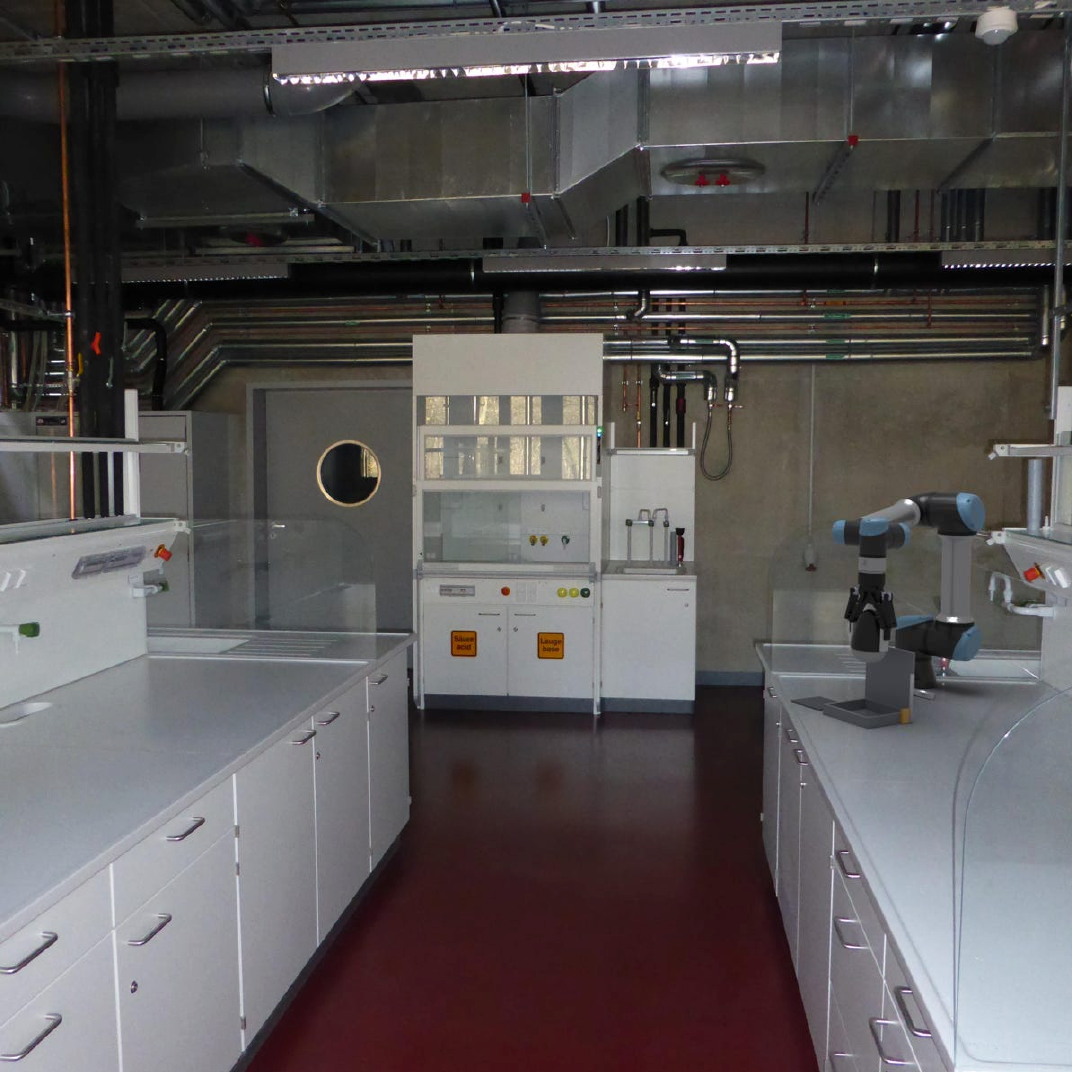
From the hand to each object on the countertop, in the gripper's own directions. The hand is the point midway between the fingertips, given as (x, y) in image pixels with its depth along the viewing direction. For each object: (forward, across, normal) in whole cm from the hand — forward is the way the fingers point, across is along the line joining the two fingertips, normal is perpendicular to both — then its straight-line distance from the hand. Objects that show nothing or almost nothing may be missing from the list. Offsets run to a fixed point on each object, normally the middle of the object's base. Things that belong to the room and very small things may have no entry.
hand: (868, 647), depth 277 cm
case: (+21, 0, 0) cm, 21 cm away
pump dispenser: (+4, 0, 0) cm, 4 cm away
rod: (+19, -11, +36) cm, 43 cm away
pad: (+21, -17, -1) cm, 27 cm away
